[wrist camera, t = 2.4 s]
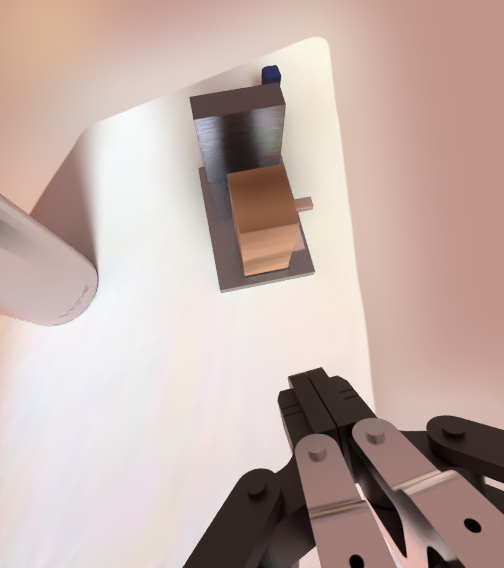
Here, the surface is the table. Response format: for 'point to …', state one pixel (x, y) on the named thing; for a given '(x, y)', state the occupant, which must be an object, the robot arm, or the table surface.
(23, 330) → the table surface
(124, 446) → the table surface
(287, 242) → the block
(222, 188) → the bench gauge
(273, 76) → the eraser
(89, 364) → the table surface
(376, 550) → the robot arm
